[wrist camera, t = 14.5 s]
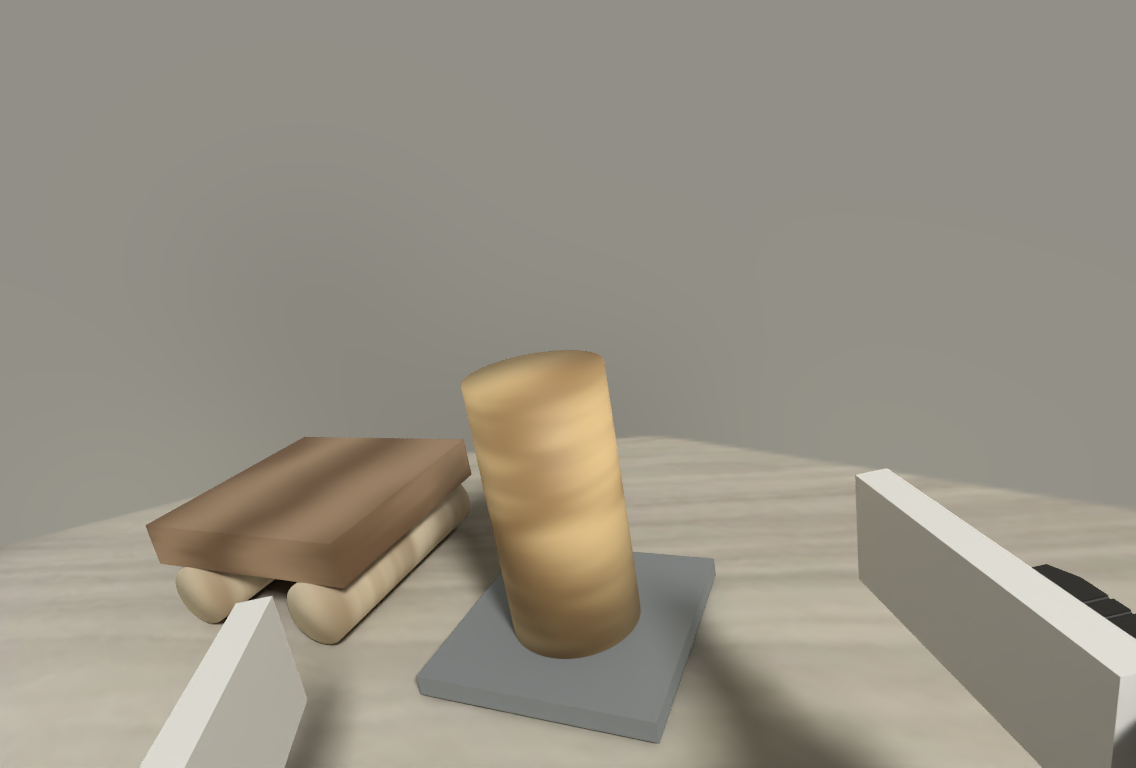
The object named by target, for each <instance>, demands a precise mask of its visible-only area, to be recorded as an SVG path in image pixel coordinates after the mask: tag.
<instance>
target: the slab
mask: <svg viewBox="0 0 1136 768" xmlns="http://www.w3.org/2000/svg"><path fill="white" fill-rule="evenodd" d="M470 475H471V470H470V466H469V461H468V457H467V452H466V448H465V443H464V440H463V439H462V440H461V439H394V438H330V437H304V438H302V439H300V440H298V441H296V442H295V443H293V444H291V445H289V446H287V447H286V448H284V449H282V450H280V451H279V452H277V453H275V454H273V455H271V456H269V457H268V458H266V459H264V460H262V461H260V462H259V463H257V464H255V465H253V466H252V467H250V468H248V469H246V470H244V471H243V472H241V473H239V474H237V475H235V476H234V477H232V478H230V479H228V480H227V481H225V482H223V483H221V484H219V485H217V486H216V487H214V488H212V489H211V490H208V491H207V492H205V493H203V494H201V495H199V496H198V497H196V498H194V499H192V500H190V501H189V502H187V503H185V504H183V505H181V506H180V507H178V508H176V509H174V510H172V511H171V512H169V513H167V514H165V515H163V516H162V517H160V518H158V519H156V520H154V521H153V522H151V523H149V524H147V525H146V528H147V531H148V533H149V536H150V538H151V541H152V543H153V546H154V548H155V551H156V554H157V556H158V559H159V561H160V563H161V564H168V565H176V566H183V568H182V569H180V570H179V571H178V573H177V575H176V586H177V590H178V593H179V595H180V597H181V599H182V601H183V602H184V604H185V605H186V606H187V608H188V609H189V610H190V611H191V612H192V613H193V614H194V615H196V616H197V617H198V618H200V619H201V620H203V621H206V622H209V623H218V622H220V621H221V620H223V619H224V618H225V617H227V616H228V615H229V614H230V613H231V611H232V609H233V607H234V606H235V604H236V603H240V602H245V601H247V600H249V599H250V598H251V597H253V596H254V595H255V594H256V593H258V592H259V591H260V590H262V589H263V588H264V587H266V586H267V585H268V584H269V583H271V582H272V581H273V580H275V579H279V580H287V581H294V582H297V583H296V584H294V585H293V586H292V587H291V588H290V589H289V591H288V594H287V605H288V609H289V612H290V614H291V616H292V618H293V620H294V622H295V623H296V624H297V626H298V627H299V628H300V629H301V630H302V631H303V632H304V633H305V634H306V635H307V636H309V637H310V638H312V639H313V640H315V641H317V642H320V643H323V644H335V643H337V642H339V641H340V640H341V639H342V638H343V637H344V636H345V635H346V634H347V633H348V632H349V631H350V630H351V629H352V628H353V627H354V626H355V625H356V624H357V623H358V622H359V621H360V620H361V619H362V618H363V617H364V616H365V615H366V614H367V613H368V612H369V611H370V610H372V609H373V608H374V607H375V606H376V605H377V604H378V603H379V602H380V601H381V600H382V599H383V598H384V597H385V596H386V595H387V594H388V593H389V592H390V591H391V590H392V589H393V588H394V587H395V586H396V585H397V584H398V583H399V582H400V581H401V580H402V579H403V578H404V577H405V576H406V575H407V574H408V573H409V572H410V571H411V570H412V569H413V568H414V567H415V566H416V565H417V564H418V563H419V562H420V561H421V560H422V559H424V558H425V557H426V556H427V555H428V554H429V553H430V552H431V551H432V550H433V549H434V548H435V547H436V546H437V545H438V544H439V543H440V542H441V541H442V540H443V539H444V538H445V537H446V536H447V535H448V534H449V533H450V532H451V531H452V530H453V529H454V528H455V527H456V526H457V525H458V524H459V523H460V522H461V521H462V520H463V519H464V518H465V517H466V516H467V514H468V512H469V508H470V502H469V497H468V495H467V492H466V491H465V489H464V487H463V486H462V485H461V483H462V482H464V481H465V480H466V479H467V478H468V477H469V476H470Z"/></svg>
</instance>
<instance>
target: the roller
mask: <svg viewBox="0 0 1136 768" xmlns="http://www.w3.org/2000/svg"><path fill="white" fill-rule="evenodd" d="M461 387H462V392H463V397H464V401H465V406H466V411H467V415H468V420H469V424H470V429H471V434H472V438H473V442H474V447H475V452H476V457H477V461H478V466H479V470H480V475H481V480H482V484H483V489H484V493H485V498H486V502H487V507H488V512H489V516H490V521H491V525H492V530H493V535H494V539H495V544H496V548H497V553H498V558H499V562H500V567H501V571H502V576H503V580H504V585H505V590H506V594H507V599H508V603H509V608H510V613H511V617H512V622H513V626H514V631H515V634H516V637H517V639H518V640H519V642H520V643H521V644H522V645H523V646H524V647H525V648H527V649H528V650H530V651H531V652H533V653H535V654H538V655H541V656H544V657H549V658H555V659H575V658H582V657H588V656H591V655H595V654H598V653H600V652H603V651H605V650H608V649H610V648H612V647H613V646H615V645H617V644H618V643H620V642H621V641H622V640H624V639H625V638H626V637H627V636H628V635H629V634H630V633H631V632H632V631H633V629H634V628H635V627H636V625H637V623H638V621H639V618H640V613H641V605H640V598H639V592H638V585H637V578H636V572H635V565H634V558H633V552H632V545H631V538H630V531H629V525H628V518H627V511H626V505H625V498H624V491H623V485H622V478H621V471H620V464H619V458H618V451H617V444H616V438H615V431H614V425H613V418H612V411H611V404H610V398H609V391H608V384H607V378H606V371H605V364H604V359H603V358H602V357H601V356H600V355H598V354H595V353H592V352H587V351H576V350H566V351H565V350H563V351H562V350H561V351H548V352H541V353H534V354H528V355H523V356H518V357H514V358H510V359H506V360H503V361H499V362H496V363H493V364H491V365H488V366H486V367H483V368H481V369H479V370H477V371H475V372H473V373H471V374H470V375H469V376H467V377H466V378H465V379H464V380H463V382H462V384H461Z"/></svg>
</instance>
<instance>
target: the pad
mask: <svg viewBox="0 0 1136 768" xmlns="http://www.w3.org/2000/svg"><path fill="white" fill-rule="evenodd" d="M633 558H634V565H635V572H636V578H637V585H638V592H639V598H640V605H641V613H640V618H639V621H638V623H637V625H636V627H635V628H634V629H633V631H632V632H631V633H630V634H629V635H628V636H627V637H626V638H625V639H624V640H622V641H621V642H620V643H618V644H617V645H615V646H613V647H612V648H610V649H608V650H605V651H603V652H600V653H598V654H595V655H591V656H588V657H582V658H575V659H555V658H549V657H544V656H541V655H538V654H535V653H533V652H531V651H530V650H528V649H527V648H525V647H524V646H523V645H522V644H521V643H520V642H519V640H518V639H517V637H516V634H515V631H514V626H513V622H512V617H511V613H510V608H509V603H508V599H507V594H506V590H505V585H504V580H503V576H502V572H501V573H500V574H499V575H498V577H497V578H496V579H495V580H494V582H493V583H492V584H491V585H490V586H489V588H488V589H487V590H486V591H485V593H484V594H483V595H482V596H481V597H480V599H479V600H478V601H477V602H476V604H475V605H474V606H473V607H472V609H471V610H470V611H469V612H468V613H467V615H466V616H465V617H464V618H463V620H462V621H461V622H460V623H459V624H458V626H457V627H456V628H455V629H454V631H453V632H452V633H451V634H450V636H449V637H448V638H447V639H446V640H445V642H444V643H443V644H442V645H441V647H440V648H439V649H438V650H437V651H436V653H435V654H434V655H433V656H432V658H431V659H430V660H429V661H428V663H427V664H426V665H425V666H424V667H423V669H422V670H421V671H420V672H419V674H418V675H417V676H416V677H417V681H418V684H419V688H420V692H421V694H423V695H428V696H433V697H437V698H442V699H447V700H452V701H457V702H462V703H466V704H471V705H476V706H481V707H486V708H490V709H495V710H500V711H505V712H510V713H515V714H519V715H524V716H529V717H534V718H539V719H544V720H548V721H553V722H558V723H563V724H568V725H573V726H577V727H582V728H587V729H592V730H597V731H601V732H606V733H611V734H616V735H621V736H626V737H630V738H635V739H640V740H645V741H650V742H655V743H660V740H661V737H662V734H663V731H664V728H665V725H666V722H667V719H668V716H669V713H670V710H671V707H672V704H673V701H674V698H675V695H676V692H677V689H678V686H679V683H680V680H681V677H682V674H683V671H684V668H685V665H686V662H687V659H688V656H689V653H690V650H691V647H692V644H693V641H694V638H695V635H696V632H697V629H698V626H699V623H700V620H701V617H702V614H703V611H704V608H705V605H706V602H707V599H708V596H709V593H710V590H711V587H712V584H713V581H714V578H715V575H716V574H715V564H714V559H711V558H699V557H688V556H676V555H664V554H653V553H641V552H633Z"/></svg>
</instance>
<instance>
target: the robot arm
mask: <svg viewBox="0 0 1136 768" xmlns="http://www.w3.org/2000/svg"><path fill="white" fill-rule="evenodd" d="M855 479H856V509H857V538H858V568H859V579H860V580H861V581H862V582H863V583H864V584H865V585H866V586H867V587H868V588H869V590H870V591H871V592H872V593H873V594H874V595H875V596H876V597H877V598H878V599H879V600H880V601H881V602H882V603H883V604H884V605H885V606H886V607H887V608H888V609H889V610H890V611H891V612H892V613H893V614H894V615H895V616H896V617H897V618H898V619H899V620H900V621H901V622H902V624H903V625H904V626H905V627H906V628H907V629H908V630H909V631H910V632H911V633H912V634H913V635H914V636H915V637H916V638H917V639H918V640H919V641H920V642H921V643H922V644H923V645H924V646H925V647H926V648H927V649H928V650H929V651H930V652H931V653H932V654H933V655H934V656H935V657H936V659H937V660H938V661H939V662H940V663H941V664H942V665H943V666H944V667H945V668H946V669H947V670H948V671H949V672H950V673H951V674H952V675H953V676H954V677H955V678H956V679H957V680H958V681H959V682H960V683H961V684H962V685H963V686H964V687H965V688H966V689H967V690H968V691H969V692H970V694H971V695H972V696H973V697H974V698H975V699H976V700H977V701H978V702H979V703H980V704H981V705H982V706H983V707H984V708H985V709H986V710H987V711H988V712H989V713H990V714H991V715H992V716H993V717H994V718H995V719H996V720H997V721H998V722H999V723H1000V724H1001V725H1002V726H1003V727H1004V729H1005V730H1006V731H1007V732H1008V733H1009V734H1010V735H1011V736H1012V737H1013V738H1014V739H1015V740H1016V741H1017V742H1018V743H1019V744H1020V745H1021V746H1022V747H1023V748H1024V749H1025V750H1026V751H1027V752H1028V753H1029V754H1030V755H1031V756H1032V757H1033V758H1034V759H1035V760H1036V761H1037V762H1038V764H1039V765H1040V766H1041V767H1042V768H1136V614H1132V612H1131V610H1130V609H1129V608H1127V607H1126V606H1124V605H1123V604H1121V603H1119V602H1118V601H1116V600H1115V599H1109V597H1108V595H1107V594H1106V593H1104V592H1102V591H1101V590H1099V589H1098V588H1096V587H1095V586H1093V585H1092V584H1090V583H1089V582H1087V581H1085V580H1084V579H1082V578H1081V577H1078V576H1076V575H1073V574H1071V573H1068V572H1065V571H1063V570H1060V569H1058V568H1055V567H1052V566H1050V565H1047V564H1045V565H1041V566H1036V567H1032V568H1031V567H1030V566H1028V565H1027V564H1026V563H1024V562H1023V561H1021V560H1020V559H1018V558H1017V557H1015V556H1014V555H1012V554H1011V553H1010V552H1008V551H1007V550H1005V549H1004V548H1002V547H1001V546H999V545H998V544H996V543H995V542H994V541H992V540H991V539H989V538H988V537H986V536H985V535H983V534H982V533H980V532H979V531H978V530H976V529H975V528H973V527H972V526H970V525H969V524H967V523H966V522H964V521H963V520H962V519H960V518H959V517H957V516H956V515H954V514H953V513H951V512H950V511H948V510H947V509H946V508H944V507H943V506H941V505H940V504H938V503H937V502H935V501H934V500H932V499H931V498H930V497H928V496H927V495H925V494H924V493H922V492H921V491H919V490H918V489H916V488H915V487H914V486H912V485H911V484H909V483H908V482H906V481H905V480H903V479H902V478H900V477H899V476H897V475H896V474H895V473H893V472H892V471H890V470H889V469H882V470H877V471H872V472H867V473H862V474H857V475H855ZM307 700H308V699H307V697H306V694H305V691H304V688H303V685H302V682H301V679H300V676H299V673H298V670H297V667H296V664H295V661H294V658H293V655H292V652H291V649H290V646H289V643H288V640H287V637H286V634H285V632H284V629H283V626H282V623H281V620H280V617H279V614H278V611H277V608H276V605H275V602H274V599H273V596H269V597H264V598H259V599H254V600H250V601H245V602H240V603H236V604H235V606H234V607H233V609H232V611H231V613H230V614H229V616H228V618H227V619H226V621H225V623H224V624H223V626H222V628H221V629H220V631H219V633H218V635H217V636H216V638H215V640H214V641H213V643H212V645H211V646H210V648H209V650H208V652H207V653H206V655H205V657H204V658H203V660H202V662H201V663H200V665H199V667H198V668H197V670H196V672H195V674H194V675H193V677H192V679H191V680H190V682H189V684H188V685H187V687H186V689H185V690H184V692H183V694H182V696H181V697H180V699H179V701H178V702H177V704H176V706H175V707H174V709H173V711H172V713H171V714H170V716H169V718H168V719H167V721H166V723H165V724H164V726H163V728H162V729H161V731H160V733H159V735H158V736H157V738H156V740H155V741H154V743H153V745H152V746H151V748H150V750H149V751H148V753H147V755H146V757H145V758H144V760H143V762H142V763H141V765H140V767H139V768H285V765H286V762H287V759H288V756H289V753H290V750H291V747H292V744H293V741H294V738H295V735H296V732H297V729H298V726H299V723H300V720H301V717H302V714H303V711H304V708H305V706H306V703H307Z"/></svg>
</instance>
